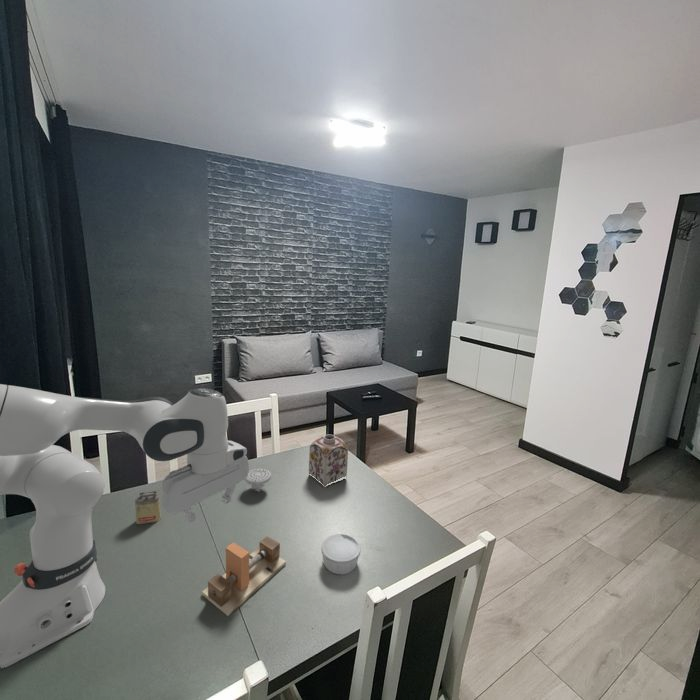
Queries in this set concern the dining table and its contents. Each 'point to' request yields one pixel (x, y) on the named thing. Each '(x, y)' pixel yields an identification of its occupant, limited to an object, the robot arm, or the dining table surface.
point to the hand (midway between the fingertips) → (209, 510)
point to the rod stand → (260, 571)
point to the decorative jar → (328, 459)
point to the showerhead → (258, 478)
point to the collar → (237, 565)
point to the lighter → (147, 508)
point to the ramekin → (340, 553)
